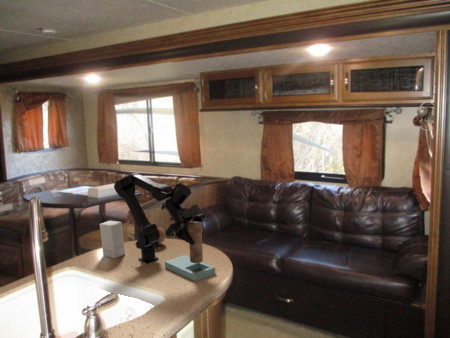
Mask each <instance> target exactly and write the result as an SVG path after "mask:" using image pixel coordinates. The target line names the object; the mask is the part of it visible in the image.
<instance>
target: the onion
mask: <svg viewBox="0 0 450 338" xmlns="http://www.w3.org/2000/svg"><path fill="white" fill-rule="evenodd" d="M156 226H157V228H158V230H159V233H160V238H159V242H158V244H156V245H155V246H158V245H161V243H164V242H165V238H166V231H165V230H164V229H163V228H162V227H160V225H157V224H156Z"/></svg>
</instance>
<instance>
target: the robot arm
mask: <svg viewBox="0 0 450 338" xmlns="http://www.w3.org/2000/svg"><path fill="white" fill-rule="evenodd" d="M136 186H137V187H138V188H141V189H143V190H145V191H146V192H148V193H149V194H151V195H150V196H151V197H152V198H153V199H154V200H156V201H157V202H162V201H165V202H162V203H161V210H162V211H163V210H166V211H167V213H168V214H169V216H170V221H171V222H172V221H174V223H171V224H170V225H169V226H168V228H166V229H165V237H166V238H168V239H170V238H172V237H174V238H178V239H180V240H182V241H184V242H186V243H188V245H189V244H191V245H194V244H195V243H194V241H193V239H192V238H191V236H190V235H189V231H188V228H189V223H190V222H201V225H202V223H203V222H204V221H205V220H206V219H207V217H206V216H205V214H204V213H200V212H201V208H200V206H199V204H196V203H195V204H193V205H191V207H189V208H187V207H183V204H184V203H185V202H186V201H187V200H188V199H189V198H190V196H191V195H192V190H191V188H190V187H188V185H185V184H183V183H182V182H177V183H176V184H175V187H174V188H173V187H172V186H171V185H168V184H166V183H158V182H156V181H154V180H151V179H149V178H147V177H145V176H143V175H141V173H139V172H133V173H129V174H128V175H127V176H125V177H122V178H121V179H119V180H116V181H115V182H114V185H113V188H114V190H115V193H116V194H117V195H118V197H120V198H121V199H123V200H124V202H125V204H126V205H127V207H128V209H129V211H130V213H131V215H132V217H133V219H134V221H135V223H136V226H137V228H138V234H137V235H138V240H137V241H136V242H135V247H136V248H137V249H139V250H140V251H141V252H140V254H141V257H138V260H139V261H141V262H143V263H144V264H147V263H151V262H153V261H154V262H155V261H156V260H159V257H157V256H156V249H155V246H157V245H158V242H159V238H160V233H159V230H158V228H157V226H158V225H157V224H156V223H150V221H149V220H148V217H147V216H146V213H145V212H144V209H143V208H142V206H141V204H140V202H139V200H138V198H137V196H136V190H137V189H136ZM156 225H157V226H156ZM204 240H205V239H204V236H203V234H202V242H203V241H204ZM156 244H157V245H156Z"/></svg>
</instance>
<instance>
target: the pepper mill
mask: <svg viewBox="0 0 450 338" xmlns="http://www.w3.org/2000/svg"><path fill="white" fill-rule="evenodd" d="M202 227H203V226H202V224H201V222H190V223H189V227H188V233H189V235H190V236H191V238H192V239H193V241H194V243H195V244H194V245H191V244H189V243H188V245H189V246H188V247H189V257H190V262H192V263H200V262H203V261H204V255H203V241H202V235H203V232H202V231H203V229H202Z"/></svg>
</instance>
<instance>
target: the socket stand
mask: <svg viewBox="0 0 450 338" xmlns="http://www.w3.org/2000/svg"><path fill="white" fill-rule="evenodd" d="M164 268H166V269H168V270H170V271H172V272H174V273H176V274H179V275H180V276H183V277H184V278H187V279H189V280H191V281H194V282H196V283H197V282H198V281H201V280H203V279H205V278H208V277H210V276H212V275H215V274H216V267H215V266H214V265H211V264H208V263H206V262H203V261H202V262H200V263H192V262H190V256H188V255H185V254H183V255H180V256H177V257H174V258H172V259H169V260H165V261H164ZM196 270H199V271H197V272H195V271H196Z"/></svg>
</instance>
